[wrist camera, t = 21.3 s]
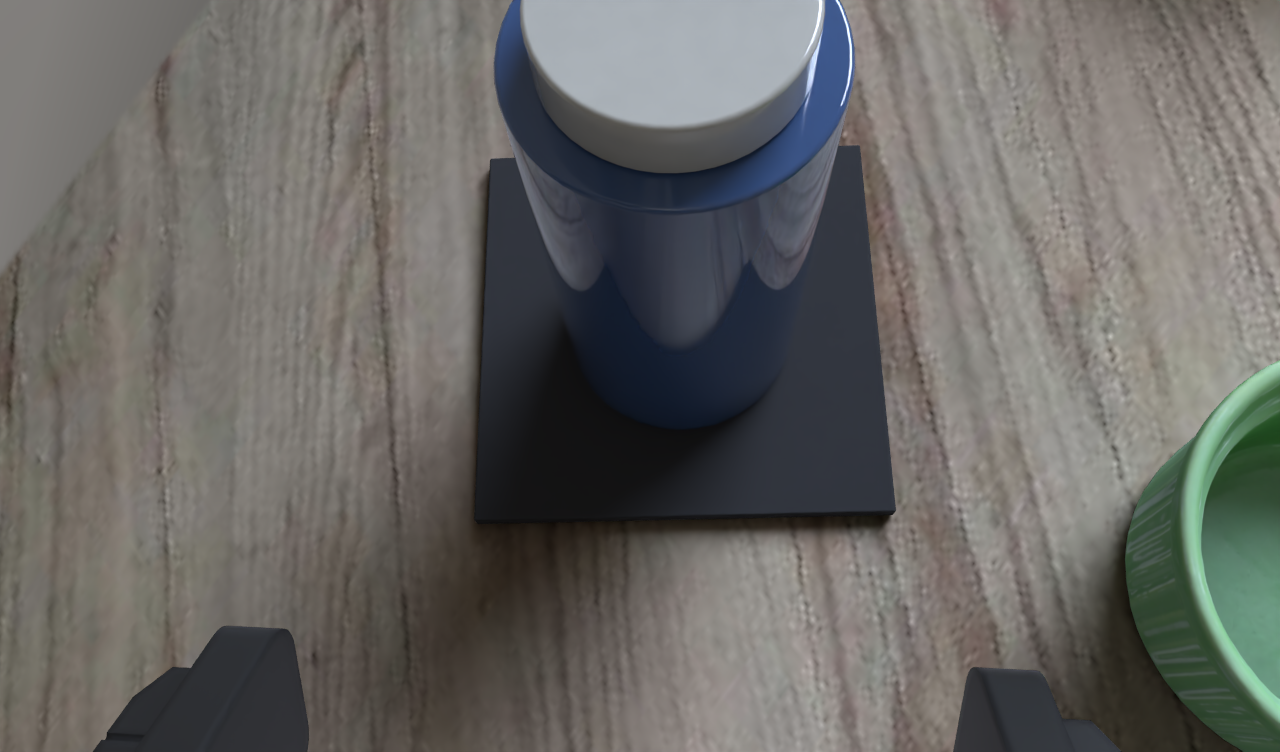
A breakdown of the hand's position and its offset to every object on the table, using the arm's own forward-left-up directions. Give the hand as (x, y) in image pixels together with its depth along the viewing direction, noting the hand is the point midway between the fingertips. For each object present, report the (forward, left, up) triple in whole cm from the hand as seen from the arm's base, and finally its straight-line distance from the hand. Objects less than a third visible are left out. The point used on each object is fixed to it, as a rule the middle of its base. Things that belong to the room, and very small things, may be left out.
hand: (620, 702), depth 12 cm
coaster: (+1, +10, -12) cm, 15 cm away
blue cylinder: (+1, +10, -11) cm, 15 cm away
